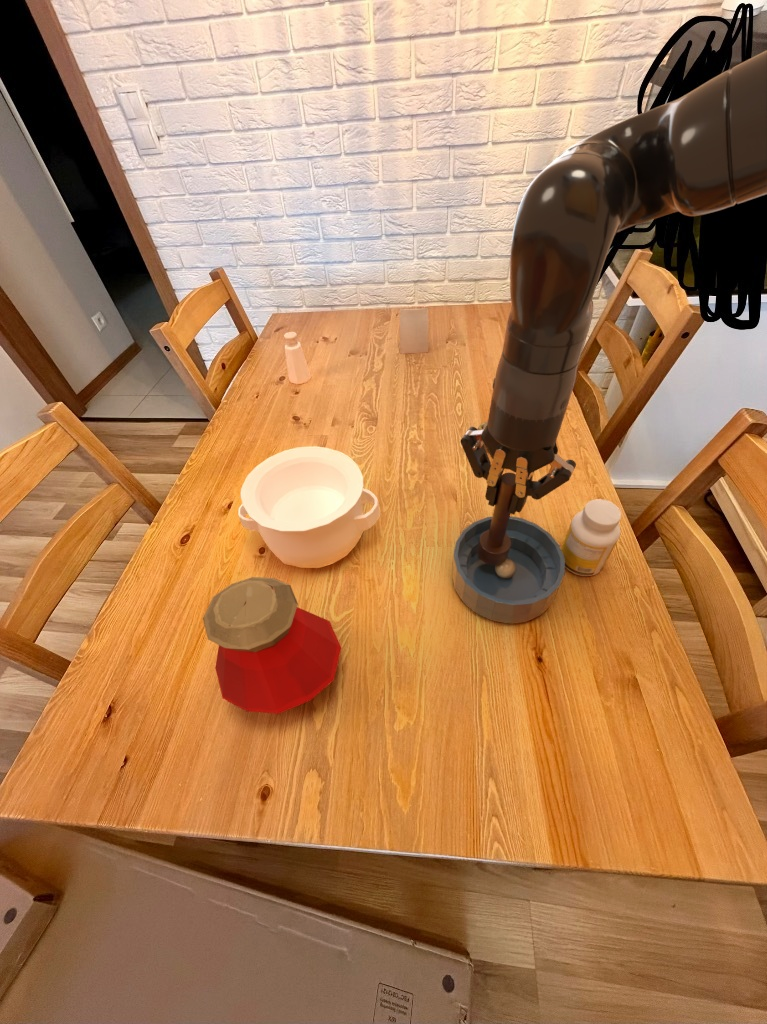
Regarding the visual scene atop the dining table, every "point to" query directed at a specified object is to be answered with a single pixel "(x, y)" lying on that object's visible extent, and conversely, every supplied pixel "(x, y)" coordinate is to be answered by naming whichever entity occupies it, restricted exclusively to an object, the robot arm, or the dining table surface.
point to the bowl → (519, 593)
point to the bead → (506, 569)
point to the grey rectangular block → (414, 330)
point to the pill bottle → (591, 537)
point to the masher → (498, 524)
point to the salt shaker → (296, 360)
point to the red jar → (269, 646)
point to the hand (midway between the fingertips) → (503, 505)
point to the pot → (308, 505)
